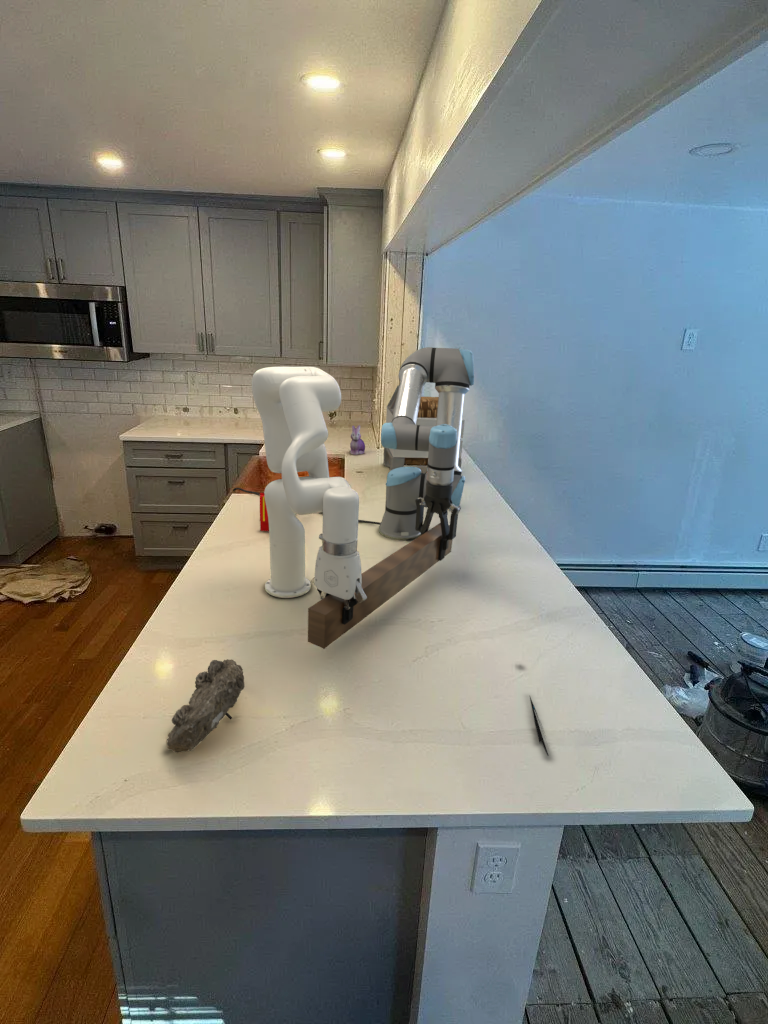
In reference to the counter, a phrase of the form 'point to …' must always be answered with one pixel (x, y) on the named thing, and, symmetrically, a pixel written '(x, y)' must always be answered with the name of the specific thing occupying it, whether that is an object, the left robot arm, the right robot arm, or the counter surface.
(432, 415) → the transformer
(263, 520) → the toy
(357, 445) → the figurine
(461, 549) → the counter surface
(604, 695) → the counter surface
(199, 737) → the fossil
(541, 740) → the feather
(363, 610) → the post
